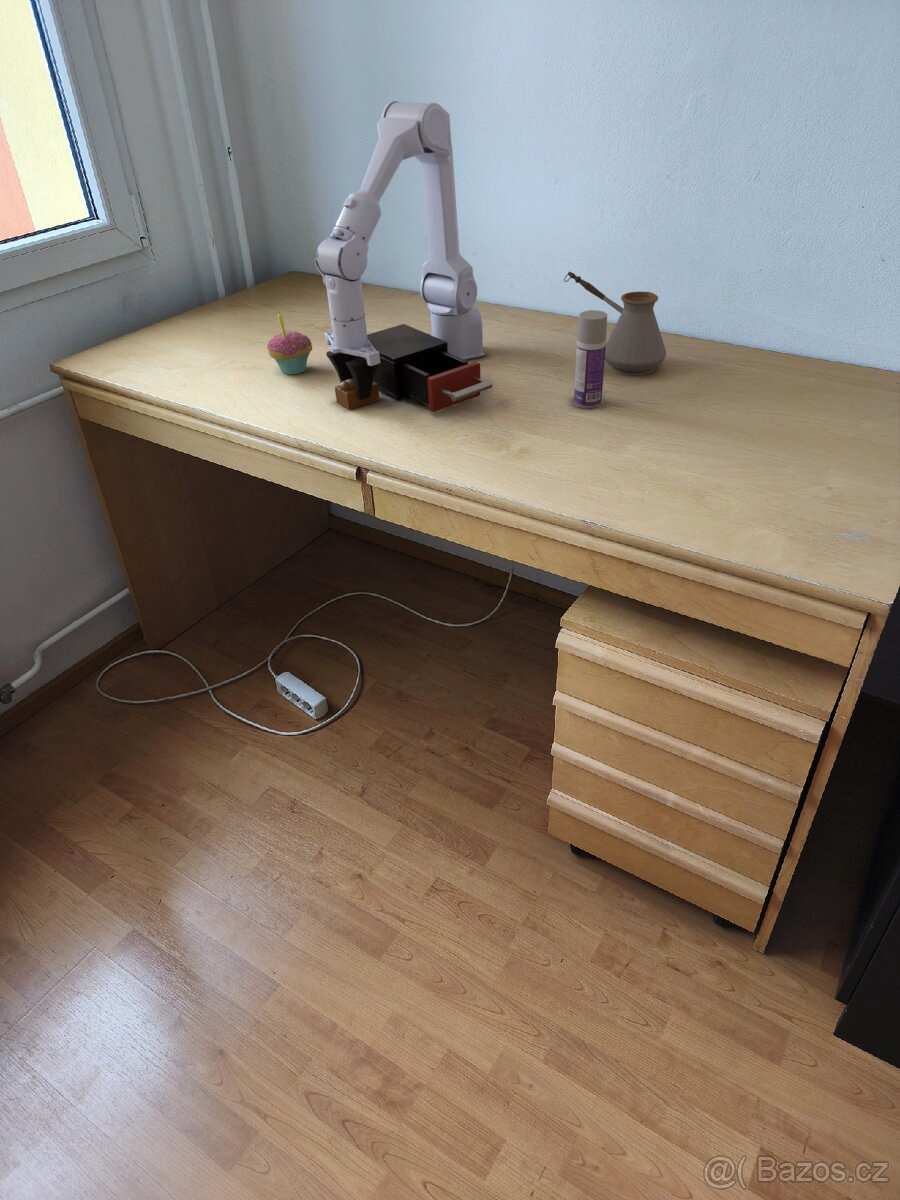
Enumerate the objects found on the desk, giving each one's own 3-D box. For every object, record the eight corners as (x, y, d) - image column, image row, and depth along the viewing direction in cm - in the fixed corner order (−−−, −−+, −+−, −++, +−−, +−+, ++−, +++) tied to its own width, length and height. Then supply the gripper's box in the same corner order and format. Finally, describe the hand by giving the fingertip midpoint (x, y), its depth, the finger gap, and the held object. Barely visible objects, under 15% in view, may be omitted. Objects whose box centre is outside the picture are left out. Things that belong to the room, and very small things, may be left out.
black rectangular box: (449, 382, 146) (447, 342, 142) (397, 400, 141) (393, 359, 136) (406, 362, 155) (403, 323, 150) (356, 379, 150) (351, 339, 145)
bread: (366, 392, 144) (364, 369, 142) (379, 399, 142) (377, 376, 139) (336, 402, 141) (333, 379, 139) (349, 410, 139) (345, 386, 136)
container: (603, 398, 138) (610, 310, 129) (598, 409, 134) (605, 320, 125) (576, 396, 139) (581, 309, 130) (571, 407, 136) (575, 318, 126)
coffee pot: (675, 364, 148) (686, 281, 139) (644, 384, 142) (653, 298, 132) (579, 341, 160) (583, 263, 151) (545, 359, 153) (548, 278, 144)
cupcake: (306, 379, 151) (296, 315, 143) (264, 377, 152) (252, 314, 145) (321, 362, 157) (312, 300, 150) (280, 360, 159) (269, 299, 151)
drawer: (498, 403, 136) (498, 370, 132) (450, 421, 131) (448, 388, 128) (438, 375, 147) (436, 344, 143) (391, 390, 142) (388, 359, 139)
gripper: (305, 311, 135) (316, 387, 143) (350, 332, 126) (360, 413, 134) (340, 302, 138) (350, 377, 147) (387, 322, 129) (394, 401, 137)
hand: (357, 393), depth 141 cm, fingers open, 4 cm apart
